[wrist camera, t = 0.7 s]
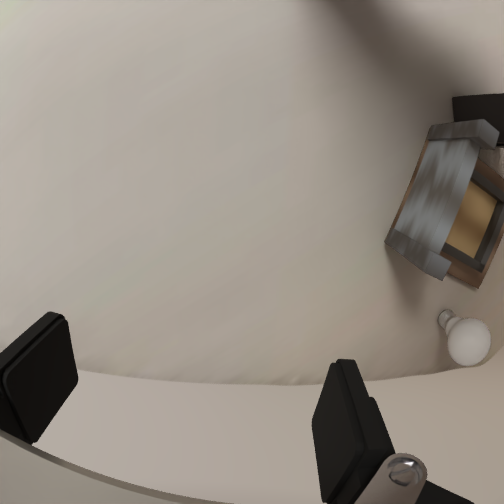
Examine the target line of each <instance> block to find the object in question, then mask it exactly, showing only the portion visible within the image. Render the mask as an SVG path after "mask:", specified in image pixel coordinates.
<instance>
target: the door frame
mask: <svg viewBox="0 0 504 504" xmlns="http://www.w3.org/2000/svg"><path fill="white" fill-rule="evenodd" d="M498 136H499V131H497V130H496V129H495V128H494V127H493V126H492V125H490V124H489V123H488V122H487V121H486V120H484V119H479V120H470V121H462V122H454V123H446V124H439V125H432V126H431V128H430V130H429V133H428V136H427V139H426V141H425V144H424V147H423V150H422V153H421V155H420V158H419V161H418V163H417V166H416V169H415V171H414V174H413V176H412V179H411V181H410V184H409V186H408V189H407V191H406V194H405V196H404V198H403V201H402V203H401V205H400V208H399V210H398V212H397V215H396V217H395V219H394V222H393V224H392V226H391V228H390V230H389V233H388V235H387V237H386V239H385V243H387V244H388V245H389V246H391V247H392V248H393V249H395V250H396V251H397V252H399V253H400V254H401V255H403V256H404V257H405V258H407V259H408V260H409V261H410V262H412V263H413V264H414V265H416V266H417V267H418V268H419V269H421V270H422V271H423V272H425V273H427V274H429V275H431V276H433V277H435V278H437V279H439V280H441V281H443V279H444V277H445V275H446V273H449V274H451V275H453V276H455V277H457V278H459V279H460V280H462V281H464V282H466V283H468V284H470V285H472V286H474V287H476V288H477V289H479V287H480V285H481V283H482V281H483V279H484V276H485V274H486V272H487V270H488V268H489V266H490V264H491V262H492V259H493V257H494V255H495V253H496V250H497V248H498V246H499V243H500V241H501V238H502V236H503V233H504V179H503V178H502V177H501V176H500V175H498V174H497V173H496V172H495V171H494V170H492V169H491V168H490V167H489V166H487V165H486V164H485V163H484V162H482V161H481V160H480V159H478V158H477V157H478V154H479V151H480V149H492V150H495V147H496V144H497V140H498Z"/></svg>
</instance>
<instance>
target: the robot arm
mask: <svg viewBox="0 0 504 504" xmlns="http://www.w3.org/2000/svg"><path fill="white" fill-rule="evenodd" d="M77 383H78V374H77V369H76V364H75V359H74V354H73V349H72V344H71V338H70V332H69V326H68V322H67V320H65V317H64V316H63V315H62V314H58V313H54V312H47V313H46V314H45V315H44V316H43V317H41V318H40V319H39V320H38V321H37V322H35V323H34V324H33V325H32V326H31V327H30V328H28V329H27V330H26V331H25V332H24V333H23V334H21V335H20V336H19V337H18V338H17V339H16V340H15V341H14V342H12V343H11V344H10V345H9V346H8V347H7V348H6V349H5V350H3V352H1V353H0V504H231V503H223V502H216V501H208V500H202V499H196V498H190V497H186V496H180V495H175V494H171V493H166V492H162V491H158V490H153V489H149V488H145V487H142V486H138V485H134V484H131V483H127V482H124V481H120V480H117V479H114V478H111V477H108V476H105V475H102V474H99V473H96V472H93V471H91V470H88V469H85V468H82V467H80V466H77V465H75V464H72V463H69V462H67V461H65V460H62V459H60V458H58V457H55V456H53V455H51V454H48V453H46V452H44V451H42V450H40V449H38V448H35V447H34V446H32V444H33V443H35V442H37V441H38V440H39V438H40V437H41V435H42V434H43V432H44V431H45V429H46V428H47V426H48V425H49V423H50V422H51V420H52V419H53V417H54V416H55V415H56V413H57V412H58V410H59V409H60V407H61V406H62V405H63V403H64V402H65V400H66V399H67V398H68V396H69V395H70V394H71V392H72V391H73V389H74V388H75V387H76V385H77ZM312 432H313V439H314V445H315V453H316V460H317V466H318V475H319V483H320V491H321V498H322V502H323V503H327V504H474V503H473V502H471V501H469V500H467V499H465V498H463V497H461V496H459V495H456V494H454V493H452V492H450V491H448V490H446V489H444V488H441V487H439V486H437V485H435V484H433V483H431V482H429V481H427V480H426V479H427V469H426V467H425V465H424V463H423V462H422V461H421V460H420V459H418V458H417V457H415V456H413V455H410V454H407V453H398V454H396V453H395V450H394V447H393V445H392V442H391V439H390V437H389V434H388V431H387V429H386V426H385V423H384V421H383V418H382V416H381V413H380V411H379V408H378V405H377V403H376V401H375V399H374V398H373V397H369V395H368V392H367V390H366V387H365V385H364V382H363V379H362V377H361V374H360V372H359V369H358V367H357V364H356V362H355V360H350V359H337V361H336V363H331V365H330V367H329V370H328V374H327V377H326V380H325V383H324V386H323V389H322V392H321V395H320V398H319V401H318V404H317V406H316V409H315V412H314V415H313V418H312Z"/></svg>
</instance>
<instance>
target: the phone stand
mask: <svg viewBox="0 0 504 504" xmlns="http://www.w3.org/2000/svg"><path fill="white" fill-rule="evenodd" d="M453 107H454V119H455V122H462V121H470V120H479V119H484V120H486V121H487V122H488V123H489V124H490V125H492V126H493V127H494V128H495V129H496V130H497V131H499V136H498V140H497V144H496V147H500V148H504V93H502V94H483V95H470V96H458V97H453Z"/></svg>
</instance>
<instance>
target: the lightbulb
mask: <svg viewBox="0 0 504 504" xmlns="http://www.w3.org/2000/svg"><path fill="white" fill-rule="evenodd" d="M438 322H439V324H440V325H441V326H442V327H443V329H444V330H445V331H446V335H447V337H448V340H447V348H448V352H449V355H450V357H451V358H452V359H453V360H454V361H455V362H456V363H457V364H459V365H462V366H472V365H475V364H477V363H479V362H480V361H482V360H483V359H484V358H485V356H486V355H487V353H488V351H489V349H490V345H491V334H490V331H489V328H488V327H487V325H486V324H485V323H484V322H483V321H481V320H479V319H477V318H465V319H463V318H461V317H458V316H456V315H455V314H454V313H453V312H452V311H451V310H445V311H443V312H442V313H441V314H440V316H439V319H438Z"/></svg>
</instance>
